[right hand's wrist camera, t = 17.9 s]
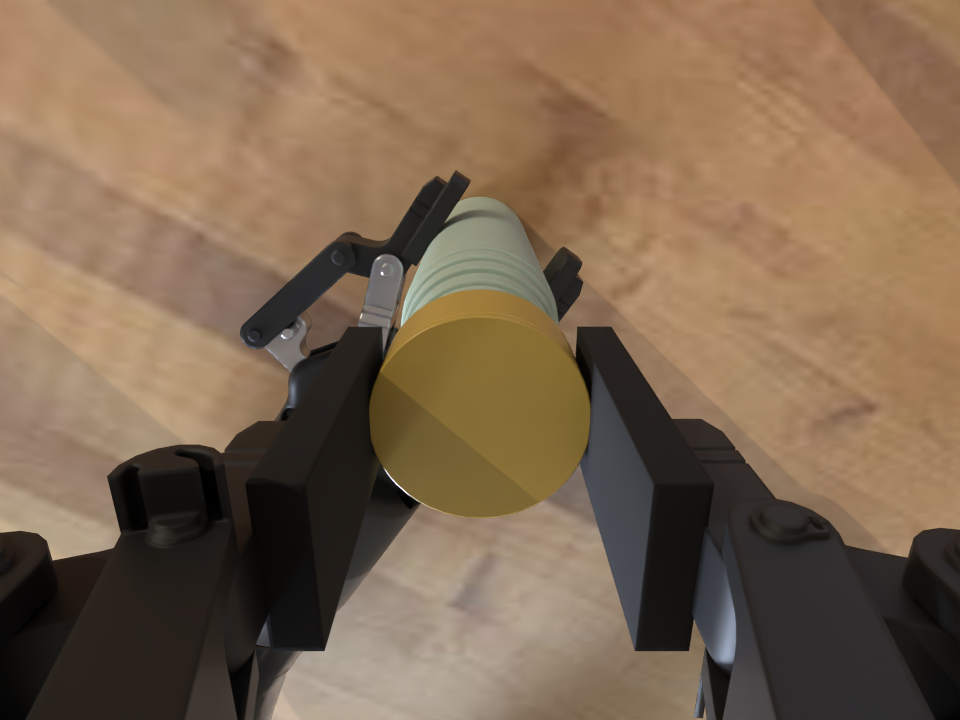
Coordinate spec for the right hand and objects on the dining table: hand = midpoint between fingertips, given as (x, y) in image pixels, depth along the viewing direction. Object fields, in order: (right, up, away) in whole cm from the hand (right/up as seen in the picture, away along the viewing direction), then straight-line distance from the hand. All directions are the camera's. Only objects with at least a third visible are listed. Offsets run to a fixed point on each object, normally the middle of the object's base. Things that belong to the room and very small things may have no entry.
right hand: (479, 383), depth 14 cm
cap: (0, -1, -2) cm, 2 cm away
